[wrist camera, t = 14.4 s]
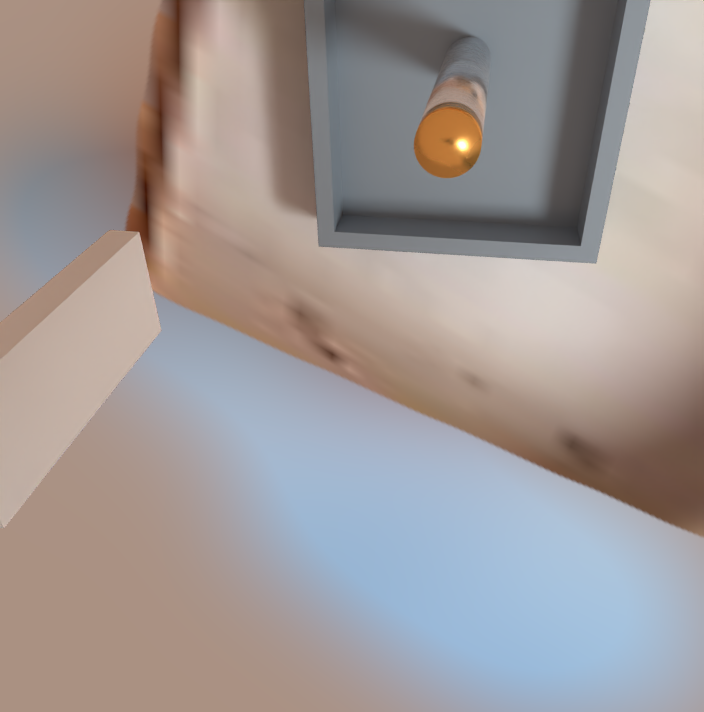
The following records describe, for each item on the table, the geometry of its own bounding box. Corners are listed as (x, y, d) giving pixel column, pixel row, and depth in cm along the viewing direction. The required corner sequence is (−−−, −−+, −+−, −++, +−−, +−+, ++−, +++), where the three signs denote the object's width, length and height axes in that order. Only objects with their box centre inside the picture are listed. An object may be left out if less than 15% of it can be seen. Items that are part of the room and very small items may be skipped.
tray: (590, 236, 40) (596, 263, 37) (331, 222, 43) (318, 246, 40) (673, -192, 29) (691, -200, 26) (312, -174, 31) (292, -180, 28)
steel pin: (488, 85, 35) (478, 179, 24) (443, 84, 36) (412, 176, 25) (493, 36, 34) (484, 111, 23) (446, 35, 34) (414, 109, 23)
